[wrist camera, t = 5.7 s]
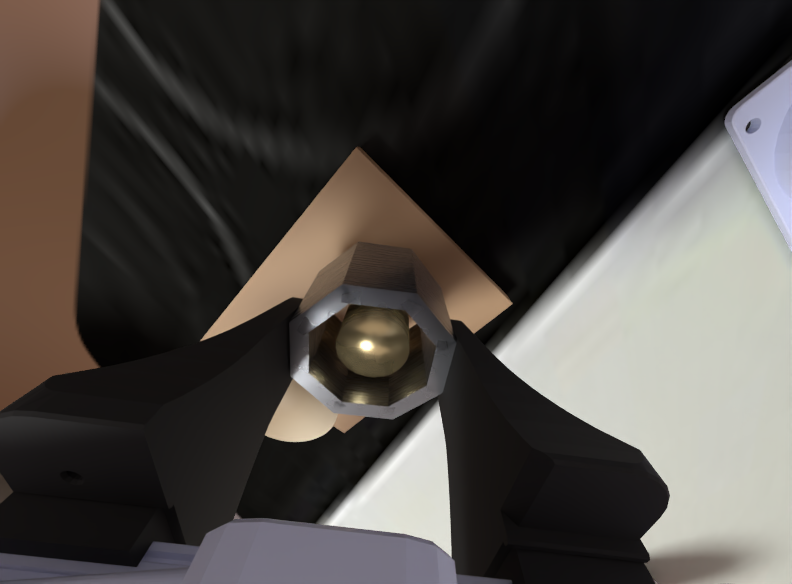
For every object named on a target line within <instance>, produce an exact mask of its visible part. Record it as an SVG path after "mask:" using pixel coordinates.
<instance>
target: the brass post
mask: <svg viewBox="0 0 792 584" xmlns="http://www.w3.org/2000/svg"><path fill="white" fill-rule="evenodd" d="M336 351H337V354H338V357H339V359H340V360H341V362H342V363H343V364H344V365H345V366H346V367H347V368H348V369H350V370H351V371H353V372H355V373H357V374H360V375H363V376H367V377H382V376H386V375H389V374H392V373H394V372H396V371H397V370H399V369H400V368H401V367H402V366H403V365H404V364H405V362H406V360H407V358H408V355H409V314H408V313H407V312H406V311H405V310H398V309H390V308H382V307H374V306H366V305H358V304H349V305H348V308H347V311H346V313H345V316H344V319H343V322H342V325H341V328H340V331H339V334H338V336H337V340H336Z"/></svg>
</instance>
